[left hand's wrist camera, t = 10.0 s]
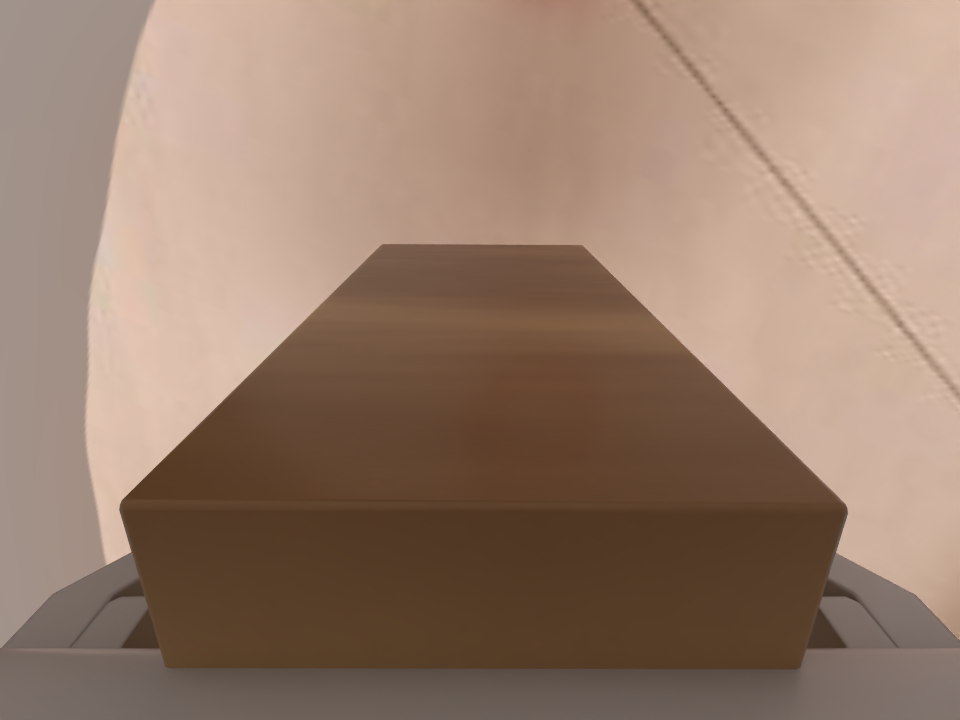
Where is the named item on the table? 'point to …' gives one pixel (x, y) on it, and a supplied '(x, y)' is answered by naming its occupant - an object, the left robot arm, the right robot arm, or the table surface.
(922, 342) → the table surface
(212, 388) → the table surface
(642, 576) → the box
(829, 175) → the table surface
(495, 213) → the table surface
